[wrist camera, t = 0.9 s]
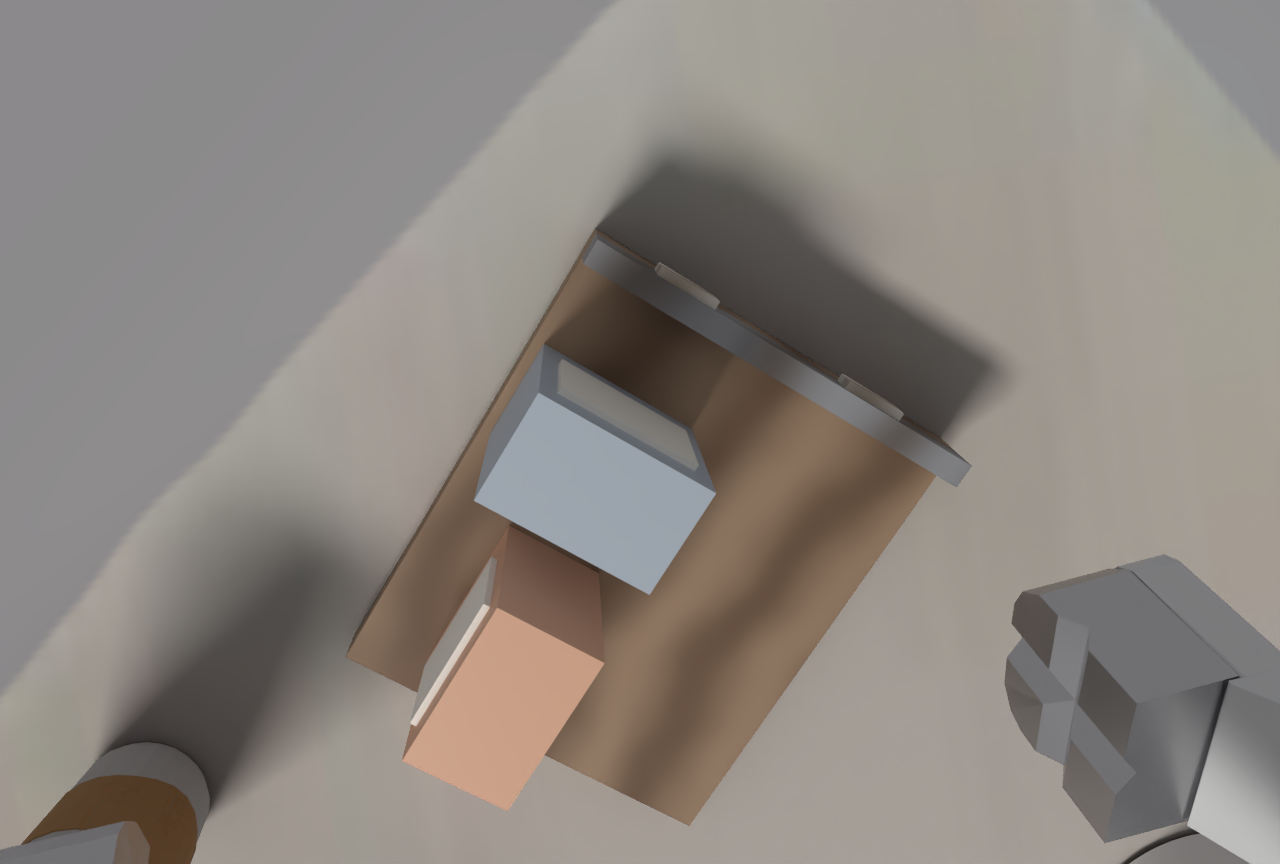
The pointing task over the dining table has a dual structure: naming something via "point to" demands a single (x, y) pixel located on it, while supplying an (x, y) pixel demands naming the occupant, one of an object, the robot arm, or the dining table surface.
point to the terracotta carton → (507, 670)
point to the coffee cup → (137, 800)
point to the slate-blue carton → (595, 471)
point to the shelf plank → (716, 547)
